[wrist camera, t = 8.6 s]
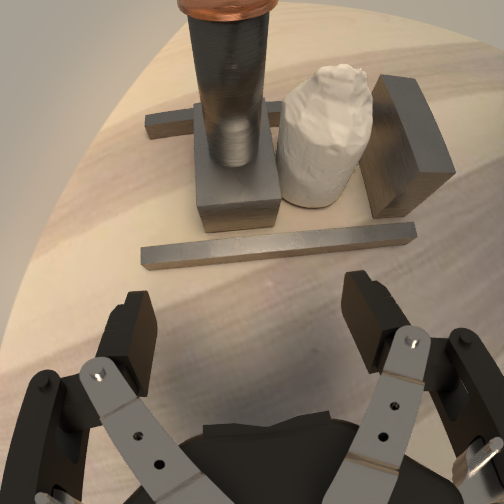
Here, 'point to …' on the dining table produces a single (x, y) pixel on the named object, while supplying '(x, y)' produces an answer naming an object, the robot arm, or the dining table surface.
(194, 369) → the dining table surface
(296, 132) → the white tapered sculpture
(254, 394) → the dining table surface
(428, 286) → the dining table surface
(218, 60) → the handle
